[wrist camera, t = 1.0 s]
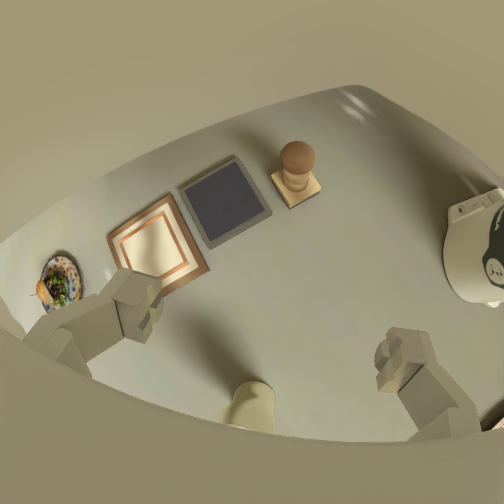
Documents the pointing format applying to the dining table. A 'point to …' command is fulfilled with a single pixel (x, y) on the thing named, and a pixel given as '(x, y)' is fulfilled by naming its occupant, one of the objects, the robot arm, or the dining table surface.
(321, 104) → the dining table surface
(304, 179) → the stamp
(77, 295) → the plate of salad
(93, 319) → the robot arm
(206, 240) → the ink pad
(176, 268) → the board
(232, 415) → the beer glass
